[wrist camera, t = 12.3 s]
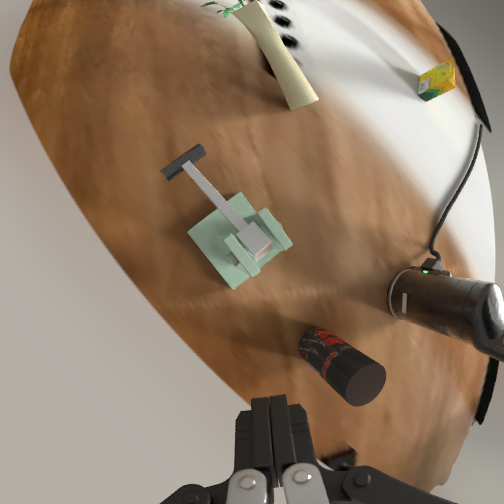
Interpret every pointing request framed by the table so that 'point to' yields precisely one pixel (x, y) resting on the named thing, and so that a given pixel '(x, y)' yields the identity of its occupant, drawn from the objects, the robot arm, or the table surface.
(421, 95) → the crayon box
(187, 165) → the lever
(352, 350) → the deodorant
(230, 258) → the bracket
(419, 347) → the table surface
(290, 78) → the flower vase
